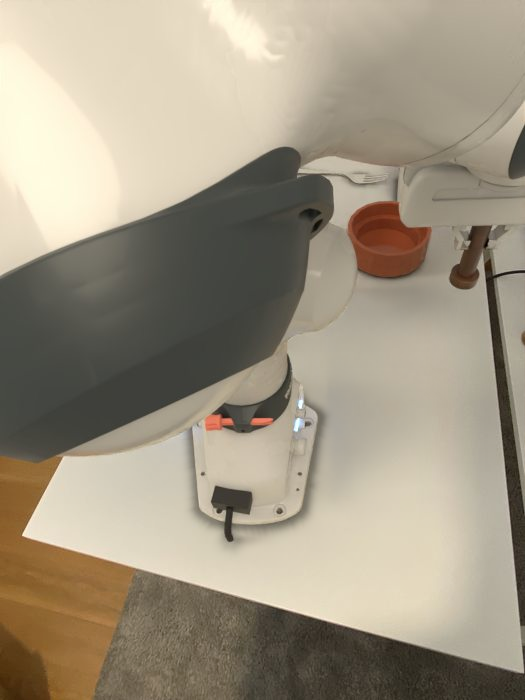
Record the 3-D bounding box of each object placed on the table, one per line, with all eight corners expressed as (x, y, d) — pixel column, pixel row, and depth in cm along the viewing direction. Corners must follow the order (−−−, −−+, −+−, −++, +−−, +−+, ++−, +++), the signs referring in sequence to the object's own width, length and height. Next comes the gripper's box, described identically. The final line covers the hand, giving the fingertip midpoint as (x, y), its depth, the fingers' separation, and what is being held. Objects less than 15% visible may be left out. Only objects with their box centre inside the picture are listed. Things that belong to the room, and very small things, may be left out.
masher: (479, 289, 66) (509, 214, 56) (451, 290, 67) (476, 215, 57) (474, 270, 68) (502, 194, 58) (446, 270, 69) (470, 195, 59)
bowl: (431, 278, 88) (438, 253, 83) (348, 281, 90) (351, 256, 85) (418, 224, 97) (424, 199, 92) (343, 227, 98) (345, 202, 93)
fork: (279, 165, 112) (278, 158, 110) (388, 178, 106) (389, 171, 104) (275, 173, 110) (274, 166, 108) (385, 187, 104) (387, 180, 103)
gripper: (410, 168, 51) (392, 266, 62) (626, 160, 49) (567, 262, 60) (404, 133, 54) (388, 231, 65) (604, 124, 52) (552, 227, 63)
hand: (475, 246), depth 63 cm, fingers closed on masher, 2 cm apart
